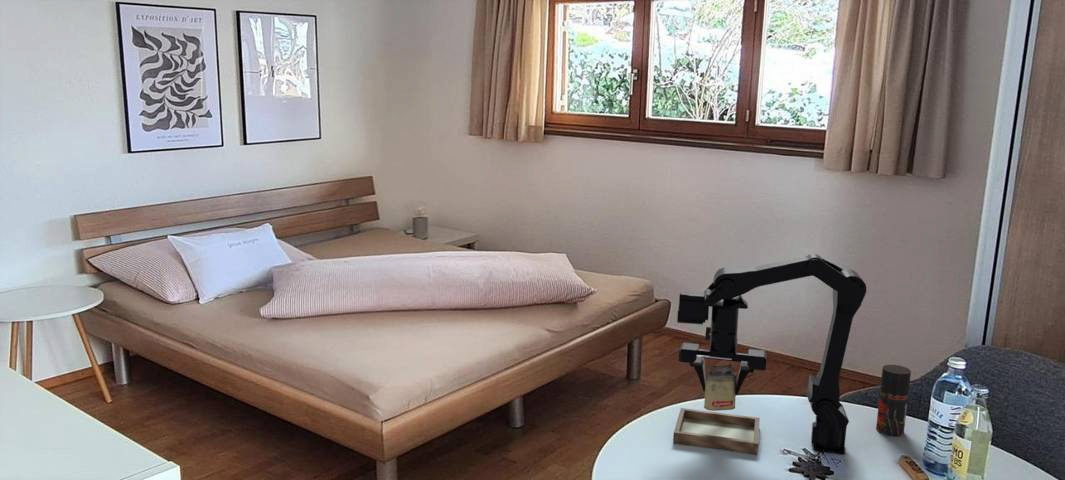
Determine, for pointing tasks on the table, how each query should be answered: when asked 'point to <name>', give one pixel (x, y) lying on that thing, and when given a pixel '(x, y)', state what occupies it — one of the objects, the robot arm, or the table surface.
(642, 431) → the table surface
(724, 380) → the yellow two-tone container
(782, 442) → the table surface
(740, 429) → the tray
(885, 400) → the deodorant
